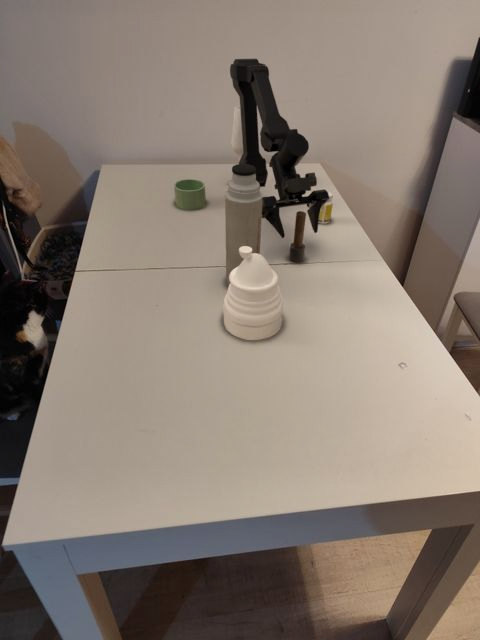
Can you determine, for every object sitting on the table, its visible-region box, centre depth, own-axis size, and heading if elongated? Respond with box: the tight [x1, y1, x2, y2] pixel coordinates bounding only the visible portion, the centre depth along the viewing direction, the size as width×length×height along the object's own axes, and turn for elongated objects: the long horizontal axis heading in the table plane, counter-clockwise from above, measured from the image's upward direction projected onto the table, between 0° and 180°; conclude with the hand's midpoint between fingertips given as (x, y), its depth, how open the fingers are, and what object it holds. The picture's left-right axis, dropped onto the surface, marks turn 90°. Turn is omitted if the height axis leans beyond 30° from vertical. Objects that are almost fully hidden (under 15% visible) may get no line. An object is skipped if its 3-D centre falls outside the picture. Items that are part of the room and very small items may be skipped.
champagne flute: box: [230, 105, 243, 162], centre depth 146 cm, size 7×7×24 cm
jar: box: [173, 178, 207, 211], centre depth 139 cm, size 9×9×6 cm
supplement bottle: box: [318, 190, 334, 225], centre depth 134 cm, size 5×5×8 cm
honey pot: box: [222, 246, 284, 341], centre depth 92 cm, size 13×13×18 cm
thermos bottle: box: [224, 163, 264, 288], centre depth 100 cm, size 8×8×28 cm
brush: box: [288, 210, 307, 264], centre depth 114 cm, size 4×4×13 cm
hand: (300, 235), depth 113 cm, fingers open, 9 cm apart
